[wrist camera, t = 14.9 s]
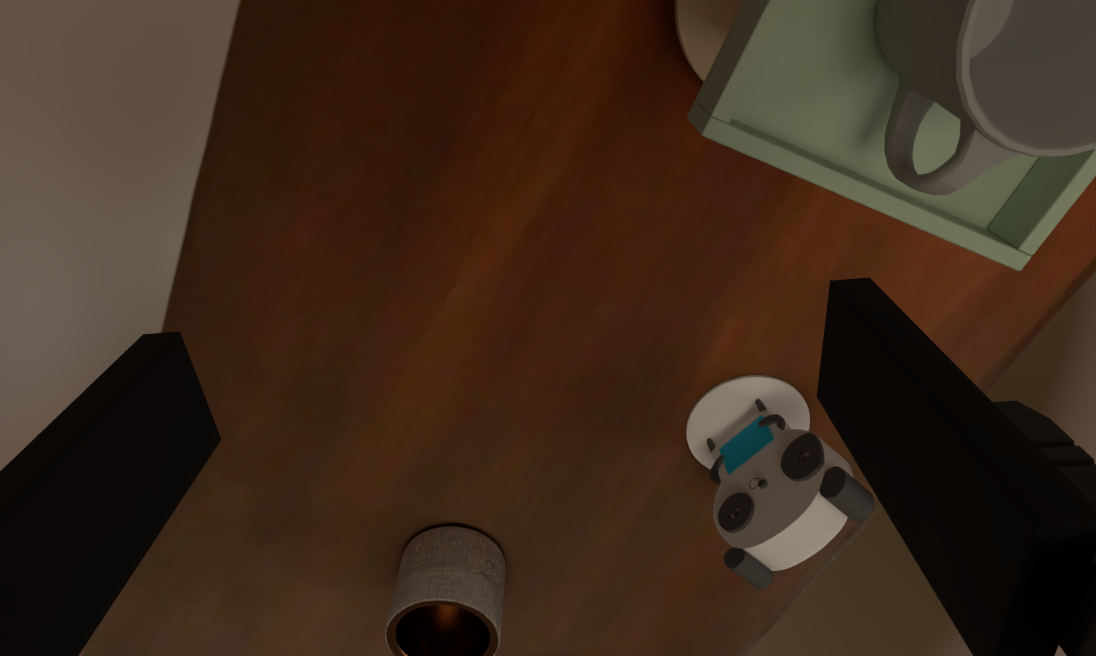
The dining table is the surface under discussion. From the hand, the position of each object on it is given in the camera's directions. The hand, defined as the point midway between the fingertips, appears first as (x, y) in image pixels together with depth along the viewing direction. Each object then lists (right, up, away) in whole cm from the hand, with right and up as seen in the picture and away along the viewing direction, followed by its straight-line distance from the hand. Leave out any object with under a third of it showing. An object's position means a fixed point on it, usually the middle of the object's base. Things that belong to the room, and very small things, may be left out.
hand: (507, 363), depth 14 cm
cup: (+16, +13, +14) cm, 25 cm away
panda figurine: (+20, -8, +51) cm, 55 cm away
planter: (-9, -24, +59) cm, 64 cm away
